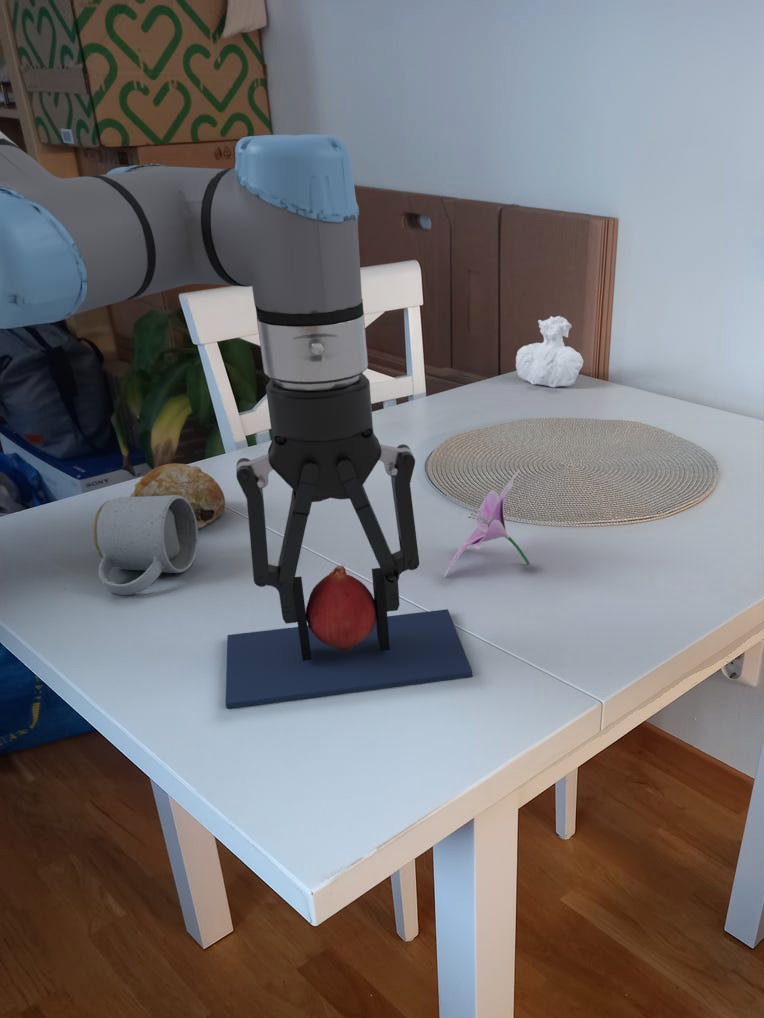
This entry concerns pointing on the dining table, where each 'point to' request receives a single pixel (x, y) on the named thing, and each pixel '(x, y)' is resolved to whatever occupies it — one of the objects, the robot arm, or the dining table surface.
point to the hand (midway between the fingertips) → (344, 646)
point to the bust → (550, 356)
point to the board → (342, 661)
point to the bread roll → (185, 489)
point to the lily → (489, 523)
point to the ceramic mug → (144, 538)
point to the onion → (341, 610)
